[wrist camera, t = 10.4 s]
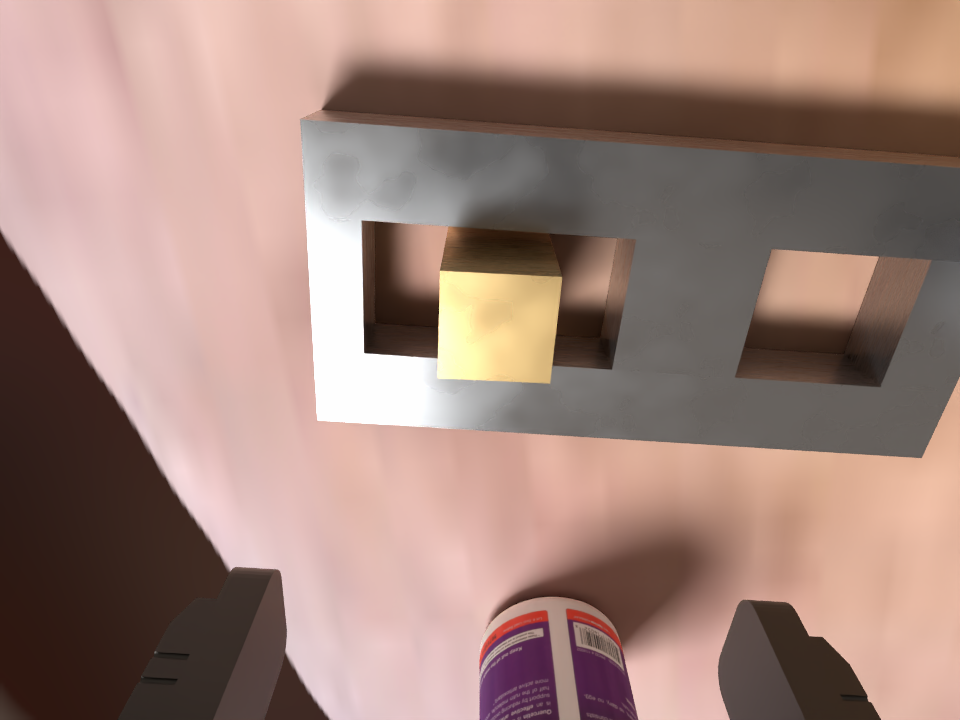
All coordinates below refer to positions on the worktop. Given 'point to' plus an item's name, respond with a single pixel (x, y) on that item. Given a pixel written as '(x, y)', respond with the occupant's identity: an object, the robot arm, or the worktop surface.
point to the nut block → (498, 305)
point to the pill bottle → (553, 664)
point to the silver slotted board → (644, 281)
